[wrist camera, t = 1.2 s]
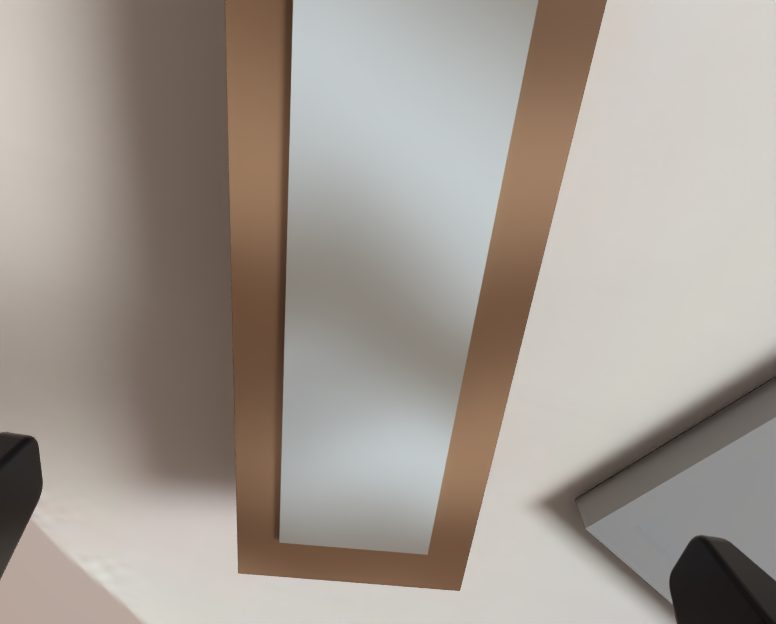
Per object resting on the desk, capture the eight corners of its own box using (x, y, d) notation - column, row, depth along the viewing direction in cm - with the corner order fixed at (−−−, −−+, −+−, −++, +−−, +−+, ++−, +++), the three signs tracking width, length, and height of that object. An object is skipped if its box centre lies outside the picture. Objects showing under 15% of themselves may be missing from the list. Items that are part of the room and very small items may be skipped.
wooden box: (448, 483, 20) (460, 595, 16) (266, 467, 20) (237, 578, 16) (568, -97, 12) (642, -133, 8) (272, -135, 12) (217, -188, 8)
